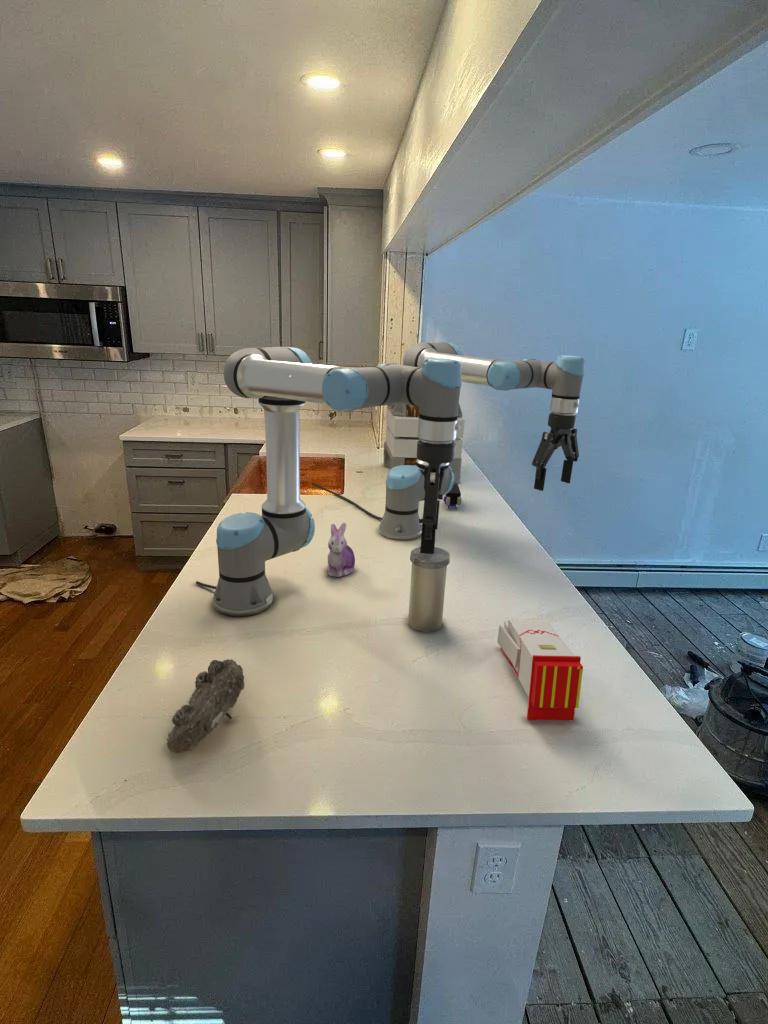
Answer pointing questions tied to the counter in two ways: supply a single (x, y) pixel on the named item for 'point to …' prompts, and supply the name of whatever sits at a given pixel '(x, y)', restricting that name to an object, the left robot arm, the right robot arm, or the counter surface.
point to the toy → (542, 668)
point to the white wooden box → (413, 438)
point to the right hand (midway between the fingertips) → (552, 485)
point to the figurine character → (453, 497)
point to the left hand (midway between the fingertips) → (429, 540)
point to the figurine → (339, 553)
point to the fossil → (206, 705)
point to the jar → (426, 598)
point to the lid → (430, 558)
